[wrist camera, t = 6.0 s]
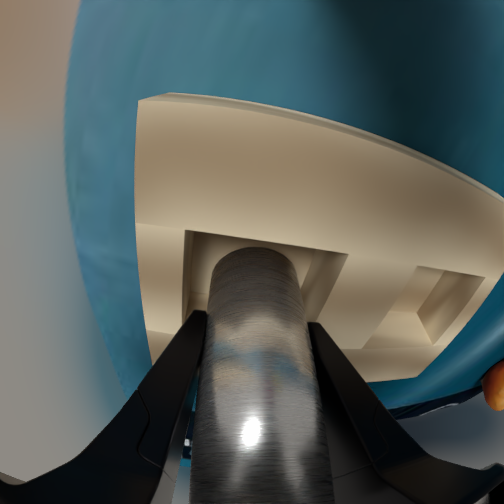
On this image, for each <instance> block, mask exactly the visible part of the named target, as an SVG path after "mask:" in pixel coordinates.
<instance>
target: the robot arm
mask: <svg viewBox="0 0 504 504" xmlns="http://www.w3.org/2000/svg"><path fill="white" fill-rule="evenodd" d="M206 316H207V312H206V311H205V310H198V309H194V310H193V311H192V312H191V314H190V315H189V316H188V318H187V319H186V320H185V322H184V323H183V324H182V326H181V327H180V329H179V330H178V331H177V333H176V334H175V336H174V337H173V338H172V340H171V341H170V342H169V344H168V345H167V347H166V348H165V349H164V351H163V352H162V354H161V355H160V356H159V358H158V359H157V360H156V362H155V363H154V365H153V366H152V367H151V369H150V370H149V372H148V373H147V374H146V376H145V377H144V379H143V380H142V381H141V383H140V384H139V386H138V387H137V389H138V390H135V391H134V393H133V394H132V395H131V397H130V398H129V400H128V401H127V402H126V403H125V405H124V406H123V407H122V409H121V410H120V412H118V414H117V415H116V416H115V417H114V418H113V419H112V420H111V422H110V423H109V424H108V425H107V426H106V427H105V428H104V429H103V430H102V431H101V433H99V434H98V435H97V437H95V439H94V440H93V441H92V442H91V443H90V444H89V445H88V446H87V447H86V448H85V449H84V450H83V451H82V452H81V453H80V454H79V455H77V456H76V457H75V458H73V459H72V460H71V461H69V462H67V463H65V464H63V465H62V466H59V467H57V468H56V469H53V470H51V471H49V472H47V473H45V474H43V475H41V476H39V477H37V478H34V479H32V480H30V481H27V482H25V481H22V480H19V479H16V478H14V477H11V476H9V475H6V474H4V473H1V472H0V504H171V502H172V498H173V493H174V487H175V483H176V478H177V473H178V469H179V464H180V460H181V455H182V451H183V446H184V442H185V437H186V433H187V428H188V424H189V420H190V415H191V411H192V407H193V402H194V398H195V394H196V390H197V385H198V378H199V369H200V361H201V355H202V348H203V340H204V332H205V324H206ZM307 325H308V330H309V335H310V341H311V346H312V351H313V357H314V362H315V368H316V373H317V379H318V385H319V391H320V397H321V403H322V409H323V415H324V422H325V428H326V435H327V442H328V449H329V457H330V464H331V472H332V480H333V489H334V498H335V504H504V465H502V464H499V463H494V464H491V465H490V466H487V467H485V468H483V469H481V470H478V469H472V468H468V467H465V466H461V465H458V464H454V463H451V462H447V461H443V460H441V459H437V458H435V457H433V456H431V455H430V454H428V453H427V452H426V451H424V450H423V449H422V448H421V447H420V446H419V445H418V443H417V442H416V441H415V440H414V439H413V438H412V437H411V436H410V435H409V434H408V433H407V432H406V431H405V430H404V429H403V428H402V427H401V425H400V424H399V423H398V422H397V421H396V420H395V419H394V418H393V416H392V415H391V414H390V413H389V411H388V410H387V409H386V408H385V406H384V405H383V404H382V402H381V401H380V400H378V397H377V396H376V395H375V393H374V392H373V391H372V389H371V388H370V387H369V386H368V384H367V383H366V382H365V380H364V379H363V378H362V376H361V375H360V374H359V373H358V371H357V370H356V369H355V367H354V366H353V365H352V364H351V362H350V361H349V360H348V358H347V357H346V356H345V354H344V353H343V352H342V351H341V349H340V348H339V347H338V345H337V344H336V343H335V342H334V340H333V339H332V338H331V336H330V335H329V334H328V333H327V331H326V330H325V329H324V328H323V326H322V325H321V324H320V323H319V322H307Z"/></svg>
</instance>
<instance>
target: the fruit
mask: <svg viewBox="0 0 504 504" xmlns="http://www.w3.org/2000/svg"><path fill="white" fill-rule="evenodd" d="M481 383H482V389H483V392H484V396H485V400H486V402H487V403H488V405H489V406H490V407H491V408H492V409H493V410H497V411H500V410H503V409H504V360H502V361H500V362H499V363H497V364H495V365H494V366H492V367H491V368H490V369H489V371H488V372H487V373H486V375H485V376H484V378H483V379H482V380H481Z"/></svg>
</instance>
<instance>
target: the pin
mask: <svg viewBox="0 0 504 504" xmlns="http://www.w3.org/2000/svg"><path fill="white" fill-rule="evenodd" d="M206 312H207V316H206V324H205V332H204V340H203V348H202V355H201V361H200V369H199V378H198V388H197V398H196V408H195V419H194V431H193V443H192V457H191V473H190V490H189V504H335V498H334V489H333V480H332V472H331V464H330V457H329V449H328V442H327V435H326V428H325V422H324V415H323V409H322V403H321V397H320V391H319V385H318V379H317V373H316V368H315V362H314V357H313V351H312V346H311V341H310V335H309V330H308V325H307V320H306V315H305V310H304V305H303V300H302V296H301V291H300V286H299V281H298V277H297V272H296V269H295V267H294V265H293V263H292V262H291V261H290V260H289V259H288V258H287V257H286V256H285V255H283V254H282V253H280V252H278V251H276V250H273V249H270V248H265V247H245V248H241V249H237V250H235V251H232V252H230V253H228V254H227V255H225V256H224V257H223V258H221V259H220V260H219V261H218V263H217V264H216V265H215V267H214V269H213V271H212V275H211V282H210V289H209V296H208V303H207V311H206Z"/></svg>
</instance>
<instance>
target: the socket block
mask: <svg viewBox="0 0 504 504" xmlns="http://www.w3.org/2000/svg"><path fill="white" fill-rule="evenodd" d="M135 225H136V243H137V257H138V269H139V279H140V288H141V297H142V305H143V312H144V319H145V326H146V332H147V338H148V344H149V349H150V355H151V360H152V365H154V363H155V362H156V360H157V359H158V358H159V356H160V355H161V354H162V352H163V351H164V349H165V348H166V347H167V345H168V344H169V342H170V341H171V340H172V338H173V337H174V336H175V334H176V333H177V331H178V330H179V329H180V327H181V326H182V324H183V323H184V322H185V320H186V319H187V318H188V316H189V315H190V314H191V312H192V311H193V310H194V309H198V310H205V311H207V303H208V296H209V289H210V282H211V275H212V271H213V269H214V267H215V265H216V264H217V263H218V261H219V260H220V259H221V258H223V257H224V256H225V255H227V254H228V253H230V252H232V251H235V250H237V249H241V248H245V247H265V248H270V249H273V250H276V251H278V252H280V253H282V254H283V255H285V256H286V257H287V258H288V259H289V260H290V261H291V262H292V263H293V265H294V267H295V269H296V272H297V277H298V281H299V286H300V291H301V296H302V300H303V305H304V310H305V315H306V320H307V322H319V323H320V324H321V325H322V326H323V328H324V329H325V330H326V331H327V333H328V334H329V335H330V336H331V338H332V339H333V340H334V342H335V343H336V344H337V345H338V347H339V348H340V349H341V351H342V352H343V353H344V354H345V356H346V357H347V358H348V360H349V361H350V362H351V364H352V365H353V366H354V367H355V369H356V370H357V371H358V373H359V374H360V375H361V376H362V378H363V379H364V380H365V382H376V381H386V380H395V379H403V378H411V377H417V376H418V375H419V374H420V373H421V372H422V371H423V370H424V369H425V368H426V367H427V366H428V365H429V364H430V363H431V362H432V361H433V360H434V359H435V358H436V357H437V356H438V355H439V354H440V353H441V352H442V351H443V350H444V349H445V348H446V346H447V345H448V344H449V343H450V342H451V341H452V340H453V339H454V338H455V336H456V335H457V334H458V333H459V332H460V331H461V329H462V328H463V327H464V326H465V325H466V323H467V322H468V321H469V320H470V318H471V317H472V316H473V315H474V313H475V312H476V311H477V309H478V308H479V307H480V305H481V304H482V303H483V301H484V300H485V299H486V297H487V296H488V295H489V293H490V292H491V290H492V289H493V287H494V286H495V284H496V283H497V281H498V280H499V278H500V277H501V275H502V274H503V272H504V198H503V197H501V196H500V195H499V194H498V193H496V192H495V191H493V190H491V189H490V188H488V187H487V186H485V185H483V184H481V183H480V182H478V181H476V180H474V179H473V178H471V177H469V176H467V175H465V174H464V173H462V172H460V171H458V170H456V169H454V168H452V167H450V166H448V165H446V164H444V163H442V162H440V161H438V160H436V159H434V158H432V157H429V156H427V155H425V154H423V153H421V152H418V151H416V150H414V149H411V148H409V147H407V146H404V145H402V144H399V143H397V142H394V141H392V140H389V139H387V138H384V137H381V136H378V135H376V134H373V133H370V132H367V131H364V130H361V129H358V128H355V127H352V126H349V125H346V124H343V123H339V122H336V121H333V120H329V119H326V118H322V117H318V116H315V115H311V114H307V113H303V112H299V111H294V110H290V109H286V108H281V107H276V106H271V105H266V104H261V103H255V102H250V101H244V100H237V99H230V98H223V97H215V96H206V95H196V94H185V93H166V94H162V95H157V96H153V97H150V98H146V99H142V100H139V102H138V113H137V126H136V144H135Z"/></svg>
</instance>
